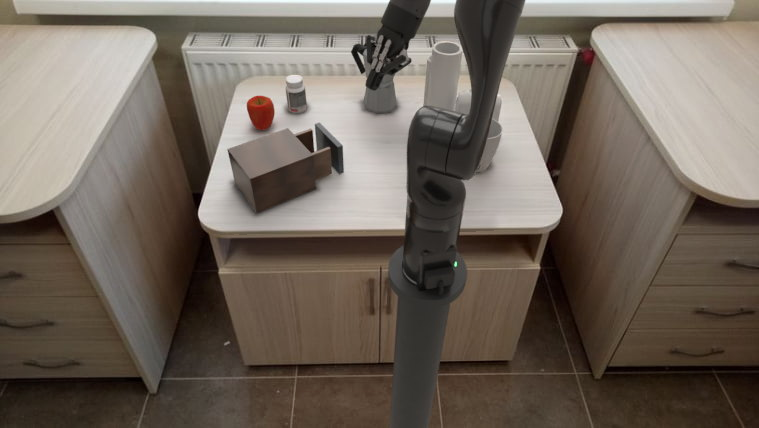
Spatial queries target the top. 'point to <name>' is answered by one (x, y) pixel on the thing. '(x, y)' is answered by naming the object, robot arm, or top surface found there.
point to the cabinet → (272, 169)
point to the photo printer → (465, 102)
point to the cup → (491, 144)
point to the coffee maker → (385, 94)
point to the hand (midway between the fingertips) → (370, 88)
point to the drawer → (323, 150)
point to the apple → (261, 112)
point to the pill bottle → (296, 94)
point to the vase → (443, 75)
